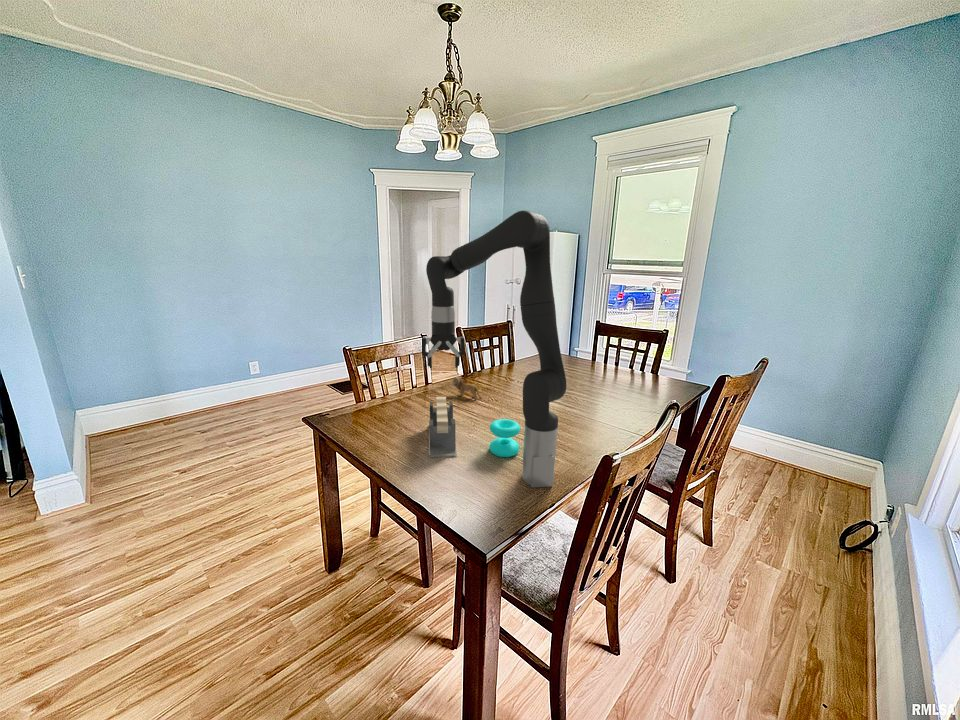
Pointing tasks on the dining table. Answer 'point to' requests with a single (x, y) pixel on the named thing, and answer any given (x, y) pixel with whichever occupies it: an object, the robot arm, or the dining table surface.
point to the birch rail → (442, 415)
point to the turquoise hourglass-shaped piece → (504, 437)
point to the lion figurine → (465, 387)
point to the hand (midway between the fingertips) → (443, 367)
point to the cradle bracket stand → (442, 435)
